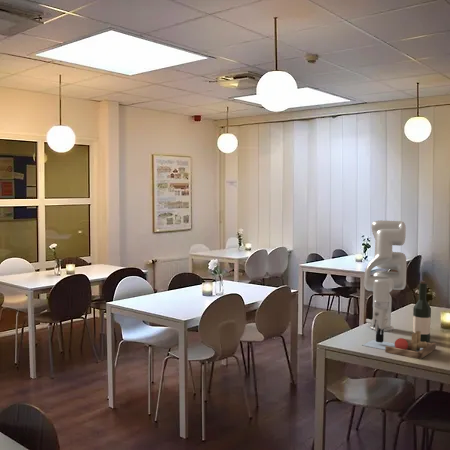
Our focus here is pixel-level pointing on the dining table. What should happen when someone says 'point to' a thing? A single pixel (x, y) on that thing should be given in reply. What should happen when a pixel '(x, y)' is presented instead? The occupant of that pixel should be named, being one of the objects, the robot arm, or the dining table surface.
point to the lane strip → (381, 344)
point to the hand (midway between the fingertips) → (379, 341)
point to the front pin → (418, 345)
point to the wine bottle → (422, 314)
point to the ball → (401, 343)
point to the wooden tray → (413, 354)
